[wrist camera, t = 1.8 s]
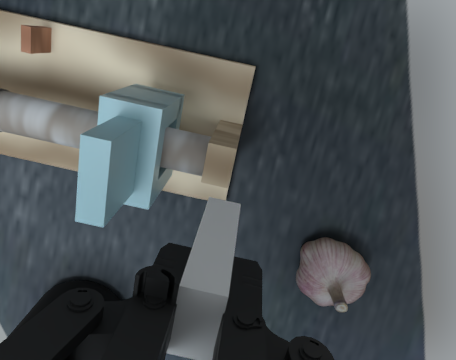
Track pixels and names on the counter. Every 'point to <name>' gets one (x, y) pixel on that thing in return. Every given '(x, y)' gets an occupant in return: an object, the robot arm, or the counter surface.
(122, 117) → the collar
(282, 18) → the counter surface
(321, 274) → the garlic bulb
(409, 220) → the counter surface
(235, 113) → the pipe stand
